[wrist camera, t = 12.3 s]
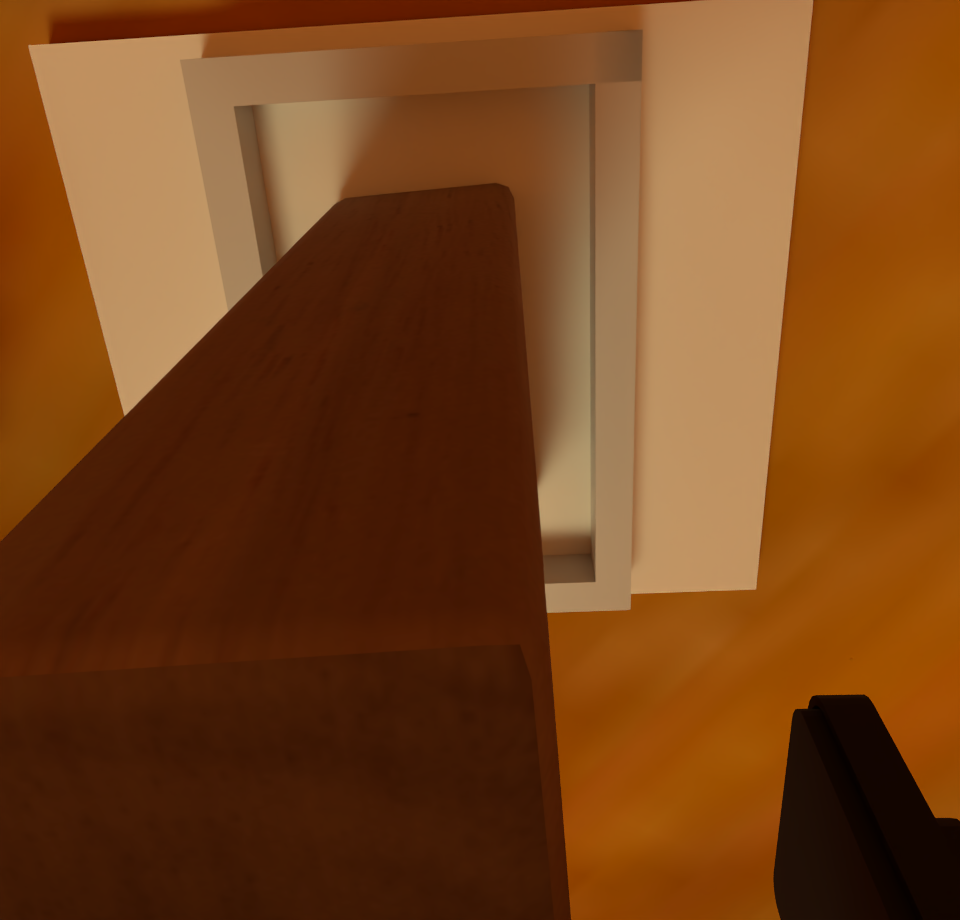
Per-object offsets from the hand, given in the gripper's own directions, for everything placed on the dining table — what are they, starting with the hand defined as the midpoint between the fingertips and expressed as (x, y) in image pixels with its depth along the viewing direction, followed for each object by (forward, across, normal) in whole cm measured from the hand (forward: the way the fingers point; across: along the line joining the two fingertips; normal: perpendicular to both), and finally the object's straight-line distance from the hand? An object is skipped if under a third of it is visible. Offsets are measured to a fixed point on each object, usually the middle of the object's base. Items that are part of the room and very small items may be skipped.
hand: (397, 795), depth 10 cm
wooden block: (+15, +1, 0) cm, 15 cm away
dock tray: (+16, +1, -1) cm, 16 cm away
